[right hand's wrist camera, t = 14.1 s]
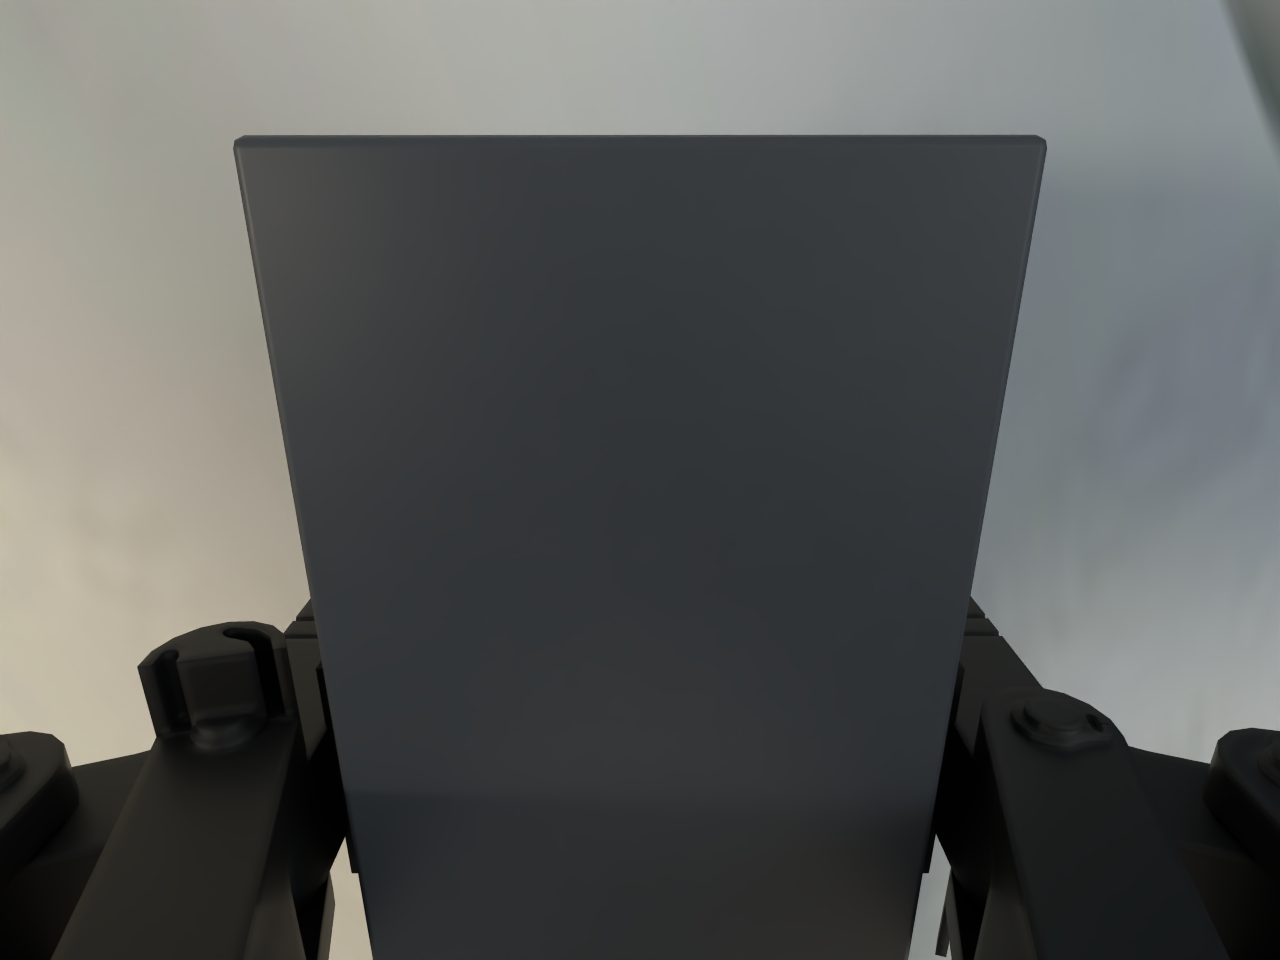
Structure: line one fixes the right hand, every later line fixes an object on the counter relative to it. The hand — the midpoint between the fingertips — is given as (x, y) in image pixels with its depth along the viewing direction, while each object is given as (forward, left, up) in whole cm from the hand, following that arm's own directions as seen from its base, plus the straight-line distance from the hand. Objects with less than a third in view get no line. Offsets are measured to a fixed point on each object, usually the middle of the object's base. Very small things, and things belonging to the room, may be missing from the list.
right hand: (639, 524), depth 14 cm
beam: (+11, -34, -1) cm, 36 cm away
